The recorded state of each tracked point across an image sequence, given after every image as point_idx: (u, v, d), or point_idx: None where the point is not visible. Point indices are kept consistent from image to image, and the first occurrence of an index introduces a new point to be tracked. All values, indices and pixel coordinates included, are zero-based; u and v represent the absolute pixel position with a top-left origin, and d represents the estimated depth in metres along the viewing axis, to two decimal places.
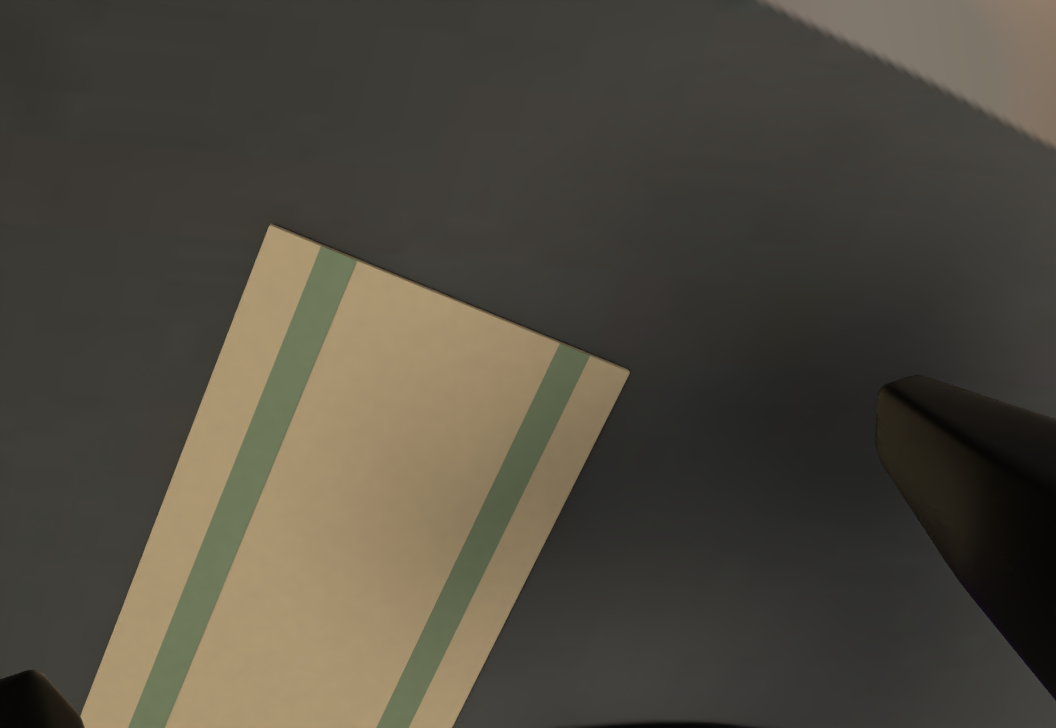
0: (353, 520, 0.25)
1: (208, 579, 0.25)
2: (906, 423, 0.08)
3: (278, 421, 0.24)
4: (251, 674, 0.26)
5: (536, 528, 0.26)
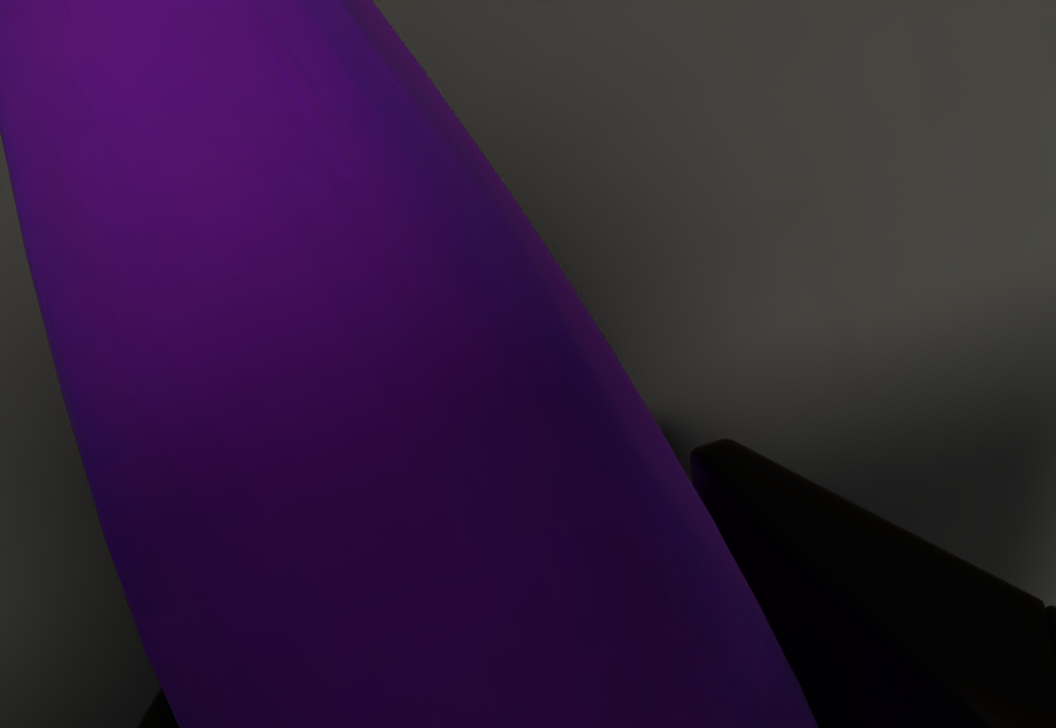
0: None
1: None
2: (710, 489, 0.08)
3: None
4: None
5: None
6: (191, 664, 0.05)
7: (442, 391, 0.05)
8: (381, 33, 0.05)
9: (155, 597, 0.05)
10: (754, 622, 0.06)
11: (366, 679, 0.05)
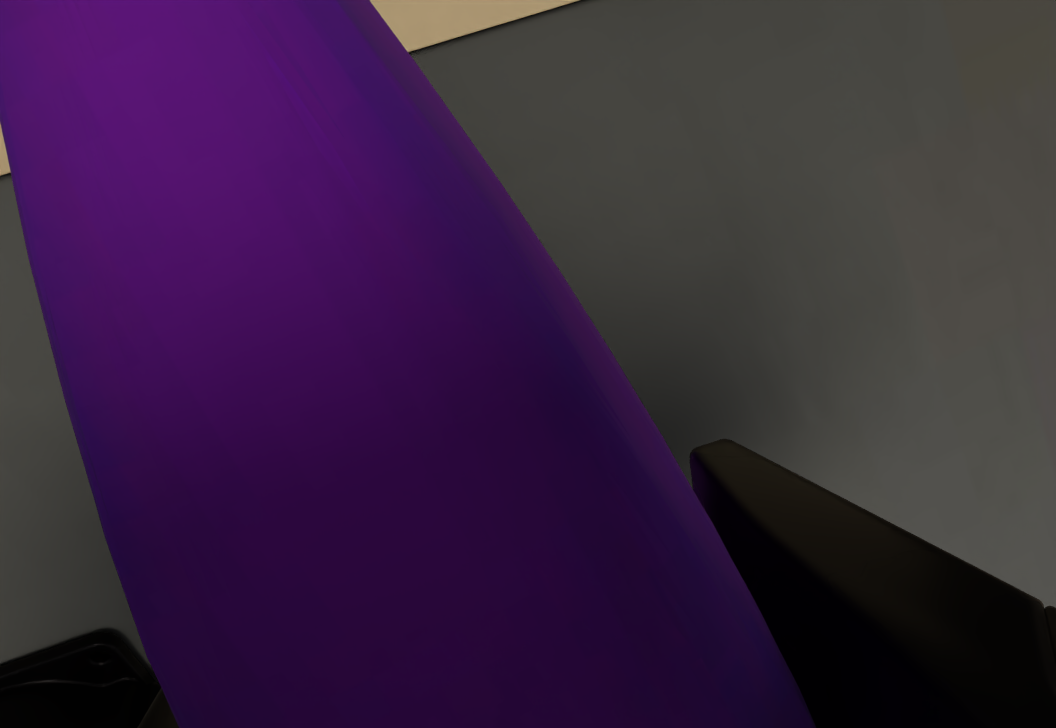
0: None
1: None
2: (709, 489, 0.08)
3: None
4: None
5: None
6: (192, 667, 0.05)
7: (444, 398, 0.05)
8: (382, 41, 0.05)
9: (157, 601, 0.05)
10: (754, 626, 0.06)
11: (368, 683, 0.05)
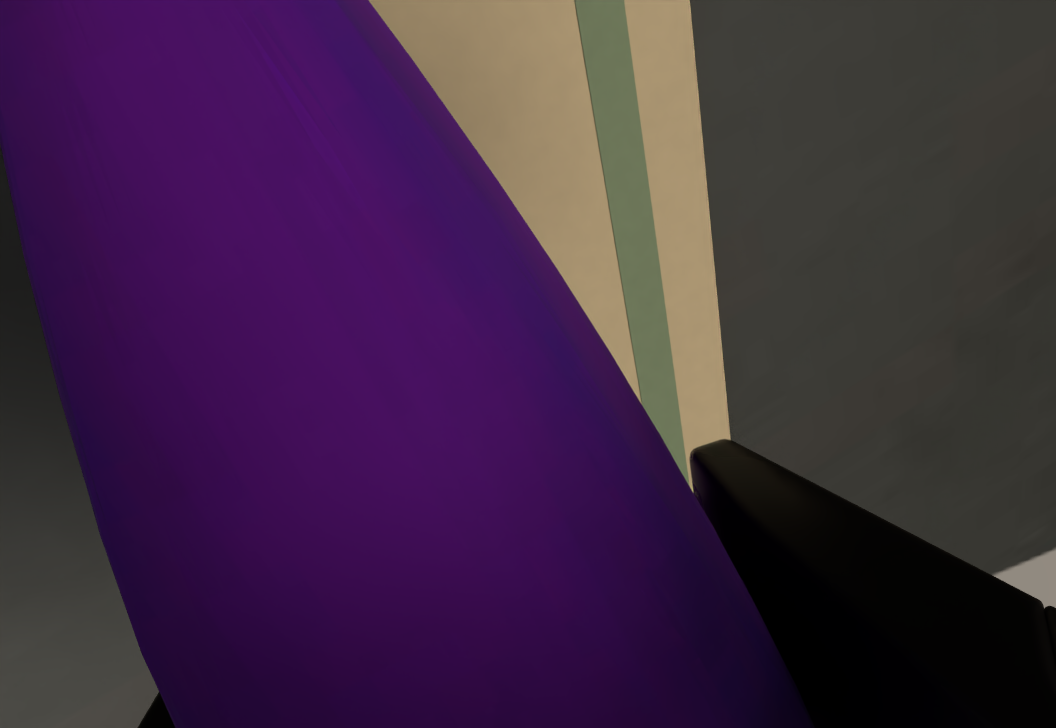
0: None
1: (625, 180, 0.19)
2: (709, 490, 0.08)
3: (648, 371, 0.22)
4: (501, 87, 0.17)
5: None
6: (188, 666, 0.05)
7: (442, 396, 0.05)
8: (379, 36, 0.05)
9: (152, 599, 0.05)
10: (752, 626, 0.06)
11: (362, 683, 0.05)
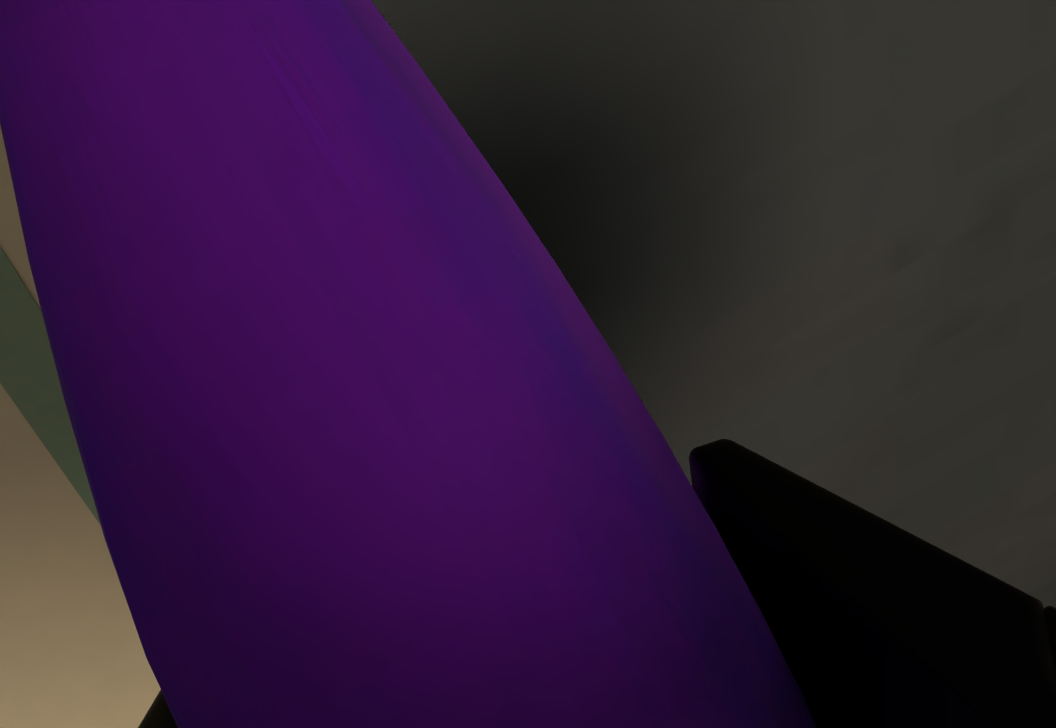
0: (27, 692, 0.15)
1: None
2: (709, 490, 0.08)
3: None
4: None
5: None
6: (193, 670, 0.05)
7: (447, 398, 0.05)
8: (385, 40, 0.05)
9: (157, 603, 0.05)
10: (756, 628, 0.06)
11: (367, 684, 0.05)
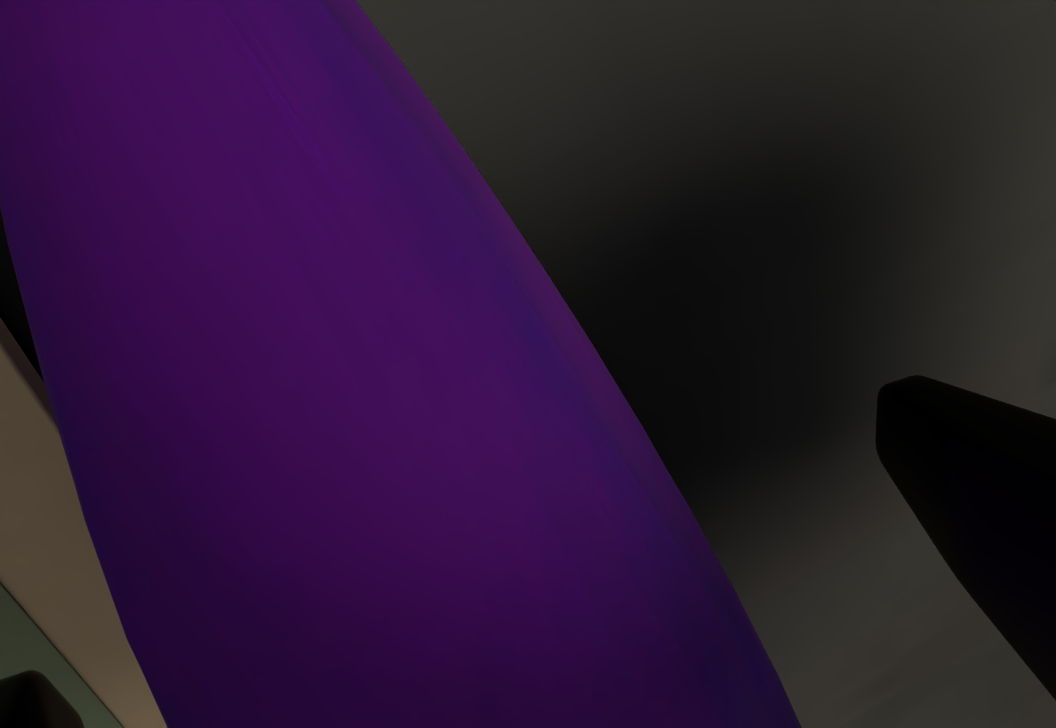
0: None
1: None
2: (906, 423, 0.08)
3: None
4: None
5: None
6: (172, 650, 0.05)
7: (420, 382, 0.05)
8: (360, 30, 0.05)
9: (136, 584, 0.05)
10: (730, 612, 0.06)
11: (345, 665, 0.05)
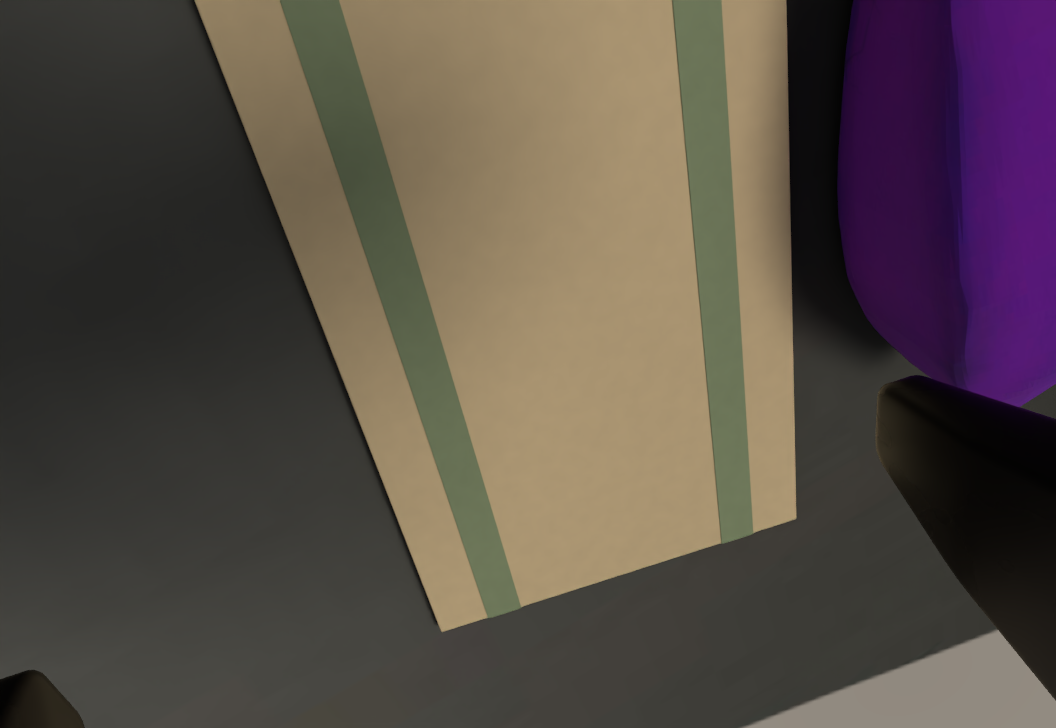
0: (597, 371, 0.21)
1: (712, 219, 0.19)
2: (906, 423, 0.08)
3: (720, 406, 0.22)
4: (599, 129, 0.17)
5: (403, 483, 0.21)
6: (968, 28, 0.14)
7: None
8: None
9: None
10: None
11: (1026, 40, 0.15)
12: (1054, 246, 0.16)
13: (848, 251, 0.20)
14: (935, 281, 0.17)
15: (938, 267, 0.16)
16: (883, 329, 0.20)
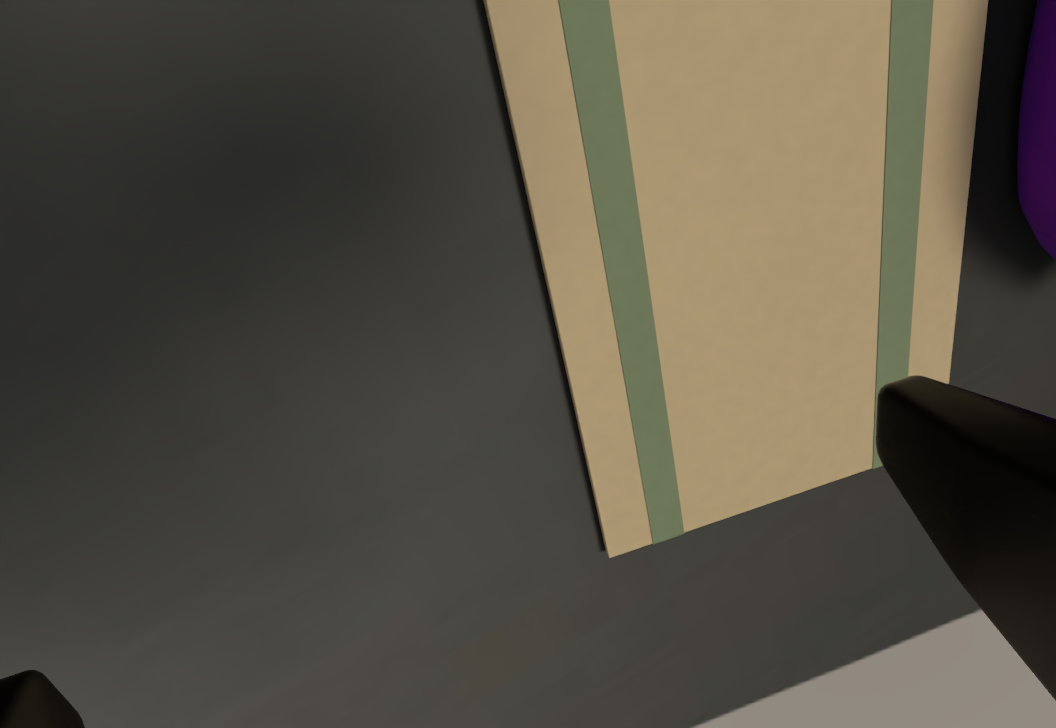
0: (781, 294, 0.22)
1: (903, 142, 0.20)
2: (906, 423, 0.08)
3: (888, 330, 0.23)
4: (813, 50, 0.18)
5: (594, 407, 0.22)
6: None
7: None
8: None
9: None
10: None
11: None
12: None
13: (1027, 171, 0.21)
14: None
15: None
16: None
